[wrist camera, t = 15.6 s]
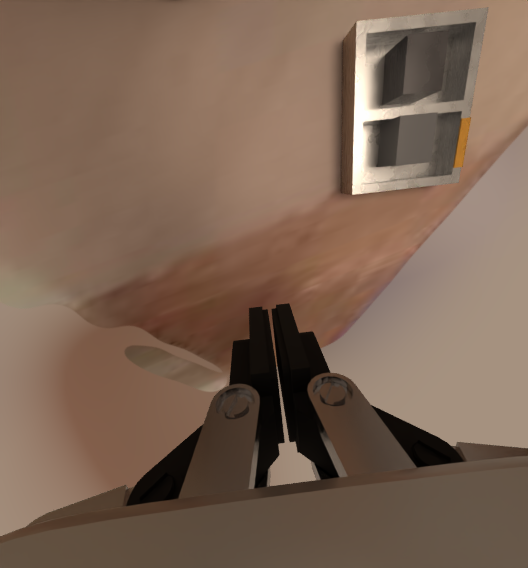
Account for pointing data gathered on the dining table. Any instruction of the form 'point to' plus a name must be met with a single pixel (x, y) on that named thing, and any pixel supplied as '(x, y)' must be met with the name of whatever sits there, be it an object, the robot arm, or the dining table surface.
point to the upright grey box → (407, 140)
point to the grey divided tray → (408, 94)
